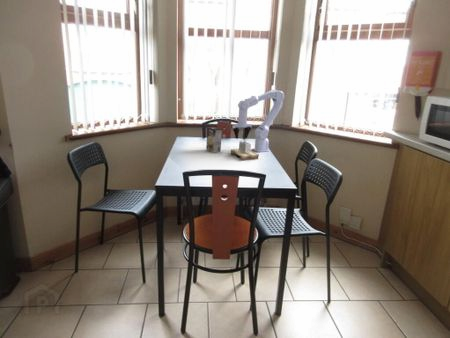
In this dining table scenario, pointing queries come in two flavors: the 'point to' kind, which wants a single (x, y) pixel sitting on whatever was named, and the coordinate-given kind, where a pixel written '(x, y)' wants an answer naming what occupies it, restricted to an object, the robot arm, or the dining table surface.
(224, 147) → the dining table surface
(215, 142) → the coffee box
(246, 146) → the block
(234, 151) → the stand
